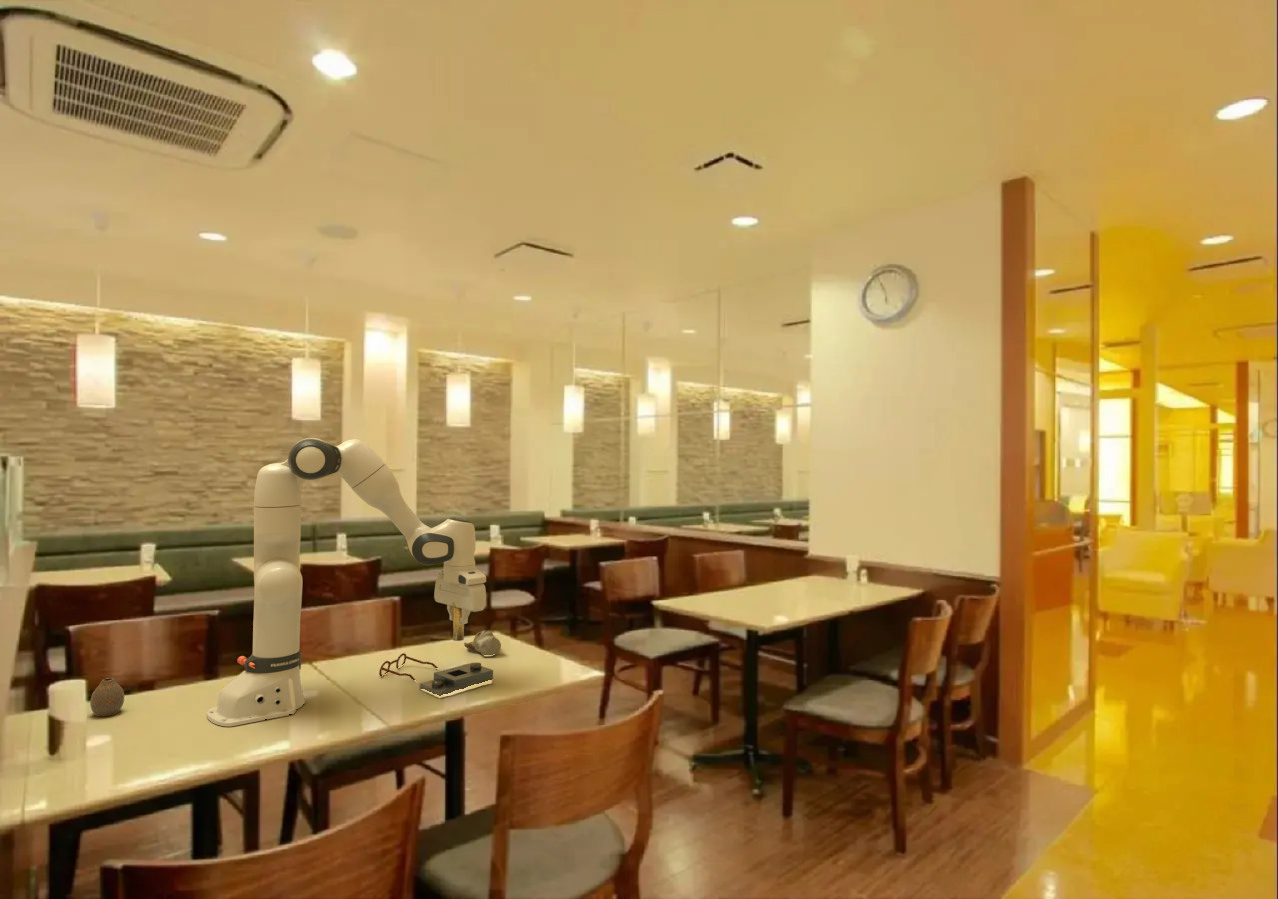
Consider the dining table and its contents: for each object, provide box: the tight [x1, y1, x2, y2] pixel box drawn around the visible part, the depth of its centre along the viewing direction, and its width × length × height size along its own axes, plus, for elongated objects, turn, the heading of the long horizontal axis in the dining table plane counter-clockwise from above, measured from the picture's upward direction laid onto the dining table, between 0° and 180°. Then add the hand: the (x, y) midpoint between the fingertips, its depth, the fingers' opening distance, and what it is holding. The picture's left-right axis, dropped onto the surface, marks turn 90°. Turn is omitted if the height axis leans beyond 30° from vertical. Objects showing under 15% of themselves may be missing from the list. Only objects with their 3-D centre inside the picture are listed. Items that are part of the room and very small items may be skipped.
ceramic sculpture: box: [463, 628, 502, 656], centre depth 242 cm, size 11×9×15 cm
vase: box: [89, 677, 125, 718], centre depth 182 cm, size 7×7×9 cm
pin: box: [452, 602, 465, 642], centre depth 208 cm, size 4×4×11 cm
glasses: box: [378, 652, 439, 681], centre depth 219 cm, size 13×13×5 cm
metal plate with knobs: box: [419, 662, 494, 696], centre depth 208 cm, size 18×10×5 cm, turn 139°
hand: (458, 622), depth 208 cm, fingers closed on pin, 3 cm apart
